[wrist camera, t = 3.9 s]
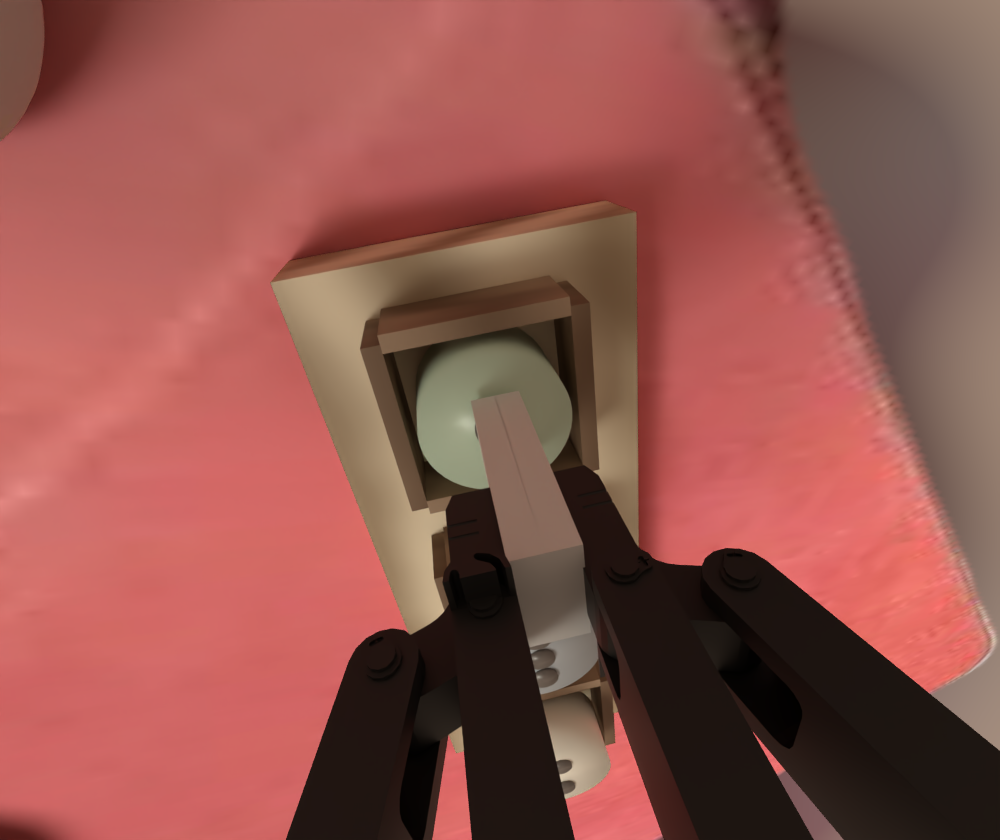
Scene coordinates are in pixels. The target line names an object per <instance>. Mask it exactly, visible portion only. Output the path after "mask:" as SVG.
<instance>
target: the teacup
mask: <svg viewBox="0 0 1000 840" xmlns="http://www.w3.org/2000/svg"><path fill="white" fill-rule="evenodd" d="M43 52H44V17H43V6H42V1H41V0H0V141H1V140H2V139H4V138H5V137H6V136H7V135H8V134H9V133H10V132H11V131H12V130H13V128H14V127H15V126H16V124H17V123H18V122H19V121H20V119H21V118H22V117H23V115H24V114H25V112H26V110H27V108H28V106H29V103H30V101H31V99H32V97H33V95H34V93H35V91H36V88H37V85H38V81H39V78H40V72H41V66H42V60H43Z"/></svg>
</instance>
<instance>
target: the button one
mask: <svg viewBox="0 0 1000 840" xmlns="http://www.w3.org/2000/svg"><path fill="white" fill-rule="evenodd" d="M514 391H519V393H520V395H521V397H522V400H523V402H524V404H525V407H526V409H527V412H528V414H529V416H530V419H531V421H532V424H533V426H534V428H535V431H536V433H537V435H538V438H539V440H540V443H541V445H542V447H543V450H544V452H545V455H546V457H547V459H548V462H549V464H551V463H552V462H553V461H554V460H555V459H556V458H557V456H558V455H559V454H560V452H561V451H562V449H563V447H564V446H565V444H566V442H567V439H568V437H569V434H570V430H571V425H572V406H571V401H570V398H569V395H568V393H567V391H566V389H565V387H564V385H563V383H562V382H561V380H560V378H559V377H558V375H557V373H556V372H555V370H554V368H553V367H552V365H551V364H550V362H549V360H548V359H547V357H546V355H545V354H544V352H543V350H542V349H541V347H540V346H539V345H538V343H537V342H536V341H535V340H534V339H533V338H532V337H531V336H530V335H529V334H527V333H526V332H525V331H523V330H521V329H519V328H518V327H514V328H509V329H504V330H499V331H494V332H489V333H484V334H479V335H474V336H470V337H465V338H460V339H455V340H450V341H445V342H440V343H435V344H432V345H431V346H430V347H429V349H428V350H427V351H426V353H425V355H424V356H423V358H422V360H421V362H420V365H419V367H418V371H417V375H416V409H417V434H418V440H419V444H420V447H421V450H422V452H423V454H424V456H425V457H426V459H427V461H428V462H429V463H430V465H431V466H432V467H433V468H434V469H435V470H436V471H437V472H438V473H440V474H441V475H442V476H444V477H445V478H447V479H449V480H450V481H452V482H454V483H457V484H459V485H462V486H466V487H470V488H476V489H484V488H489V486H488V481H487V477H486V472H485V467H484V463H483V458H482V453H481V448H480V443H479V439H478V434H477V429H476V424H475V420H474V415H473V410H472V405H471V400H476V399H481V398H486V397H490V396H495V395H500V394H505V393H509V392H514Z"/></svg>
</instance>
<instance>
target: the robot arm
mask: <svg viewBox="0 0 1000 840" xmlns="http://www.w3.org/2000/svg"><path fill="white" fill-rule="evenodd" d="M471 405H472V410H473V415H474V420H475V424H476V429H477V434H478V439H479V443H480V448H481V453H482V458H483V463H484V467H485V472H486V477H487V481H488V486H489V488H484V489H480V490H475V491H471V492H466V493H462V494H457V495H453V496H452V497H451V499H450V501H449V504H448V506H447V508H446V510H445V512H446V523H447V533H448V544H449V554H450V563H449V565H448V566H447V568H446V569H445V571H444V575H443V581H442V583H443V587H444V590H445V593H446V596H447V599H448V603H449V605H448V606H447V608H446V609H445V611H444V612H443V613H442V614H441V615H440V616H439V617H438V618H437V619H436V620H435V621H433V622H432V623H430V624H429V625H427V626H425V627H424V628H422V629H420V630H418V631H416V632H415V633H413V634H411V635H410V634H409V633H407V632H406V631H405V630H399V629H393V628H392V629H387V630H382V631H379V632H377V633H375V634H373V635H371V636H369V637H368V638H366V639H365V640H364V641H363V642H362V643H361V644H360V645H359V646H358V647H357V648H356V649H355V651H354V653H353V655H352V656H351V658H350V660H349V662H348V665H347V668H346V671H345V674H344V676H343V679H342V682H341V685H340V688H339V691H338V693H337V696H336V699H335V702H334V705H333V708H332V710H331V713H330V716H329V719H328V722H327V725H326V727H325V730H324V733H323V736H322V739H321V742H320V744H319V747H318V750H317V753H316V756H315V759H314V761H313V764H312V767H311V770H310V773H309V776H308V778H307V781H306V784H305V787H304V790H303V793H302V795H301V798H300V801H299V804H298V807H297V810H296V812H295V815H294V818H293V821H292V824H291V827H290V829H289V832H288V835H287V838H286V840H432V837H433V831H434V824H435V818H436V811H437V805H438V798H439V792H440V785H441V779H442V772H443V766H444V759H445V753H446V747H447V740H448V735H449V734H450V733H452V732H453V731H455V730H457V729H458V728H460V727H461V726H462V735H463V746H464V757H465V768H466V779H467V790H468V801H469V812H470V823H471V833H472V840H575V838H574V834H573V830H572V826H571V821H570V817H569V813H568V809H567V804H566V800H565V796H564V792H563V788H562V783H561V779H560V775H559V771H558V766H557V762H556V758H555V754H554V749H553V745H552V741H551V737H550V732H549V728H548V724H547V720H546V715H545V711H544V707H543V703H542V698H541V694H540V690H539V686H538V682H537V677H536V673H535V669H534V665H533V660H532V656H531V652H530V648H529V647H533V646H537V645H541V644H546V643H550V642H554V641H558V640H562V639H566V638H571V637H575V636H579V635H583V634H587V633H591V628H590V622H591V625H592V628H593V630H594V633H595V636H596V639H597V648H598V661H599V671H600V678H601V677H605V676H606V678H607V681H608V684H609V687H610V690H611V692H612V695H613V698H614V701H615V704H616V706H617V709H618V712H619V715H620V718H621V720H622V723H623V726H624V729H625V732H626V734H627V737H628V740H629V743H630V746H631V749H632V751H633V754H634V757H635V760H636V763H637V765H638V768H639V771H640V774H641V777H642V779H643V782H644V785H645V788H646V791H647V793H648V796H649V799H650V802H651V805H652V807H653V810H654V813H655V816H656V819H657V821H658V824H659V827H660V830H661V833H662V835H663V838H664V840H814V839H813V838H812V836H811V834H810V833H809V831H808V829H807V827H806V826H805V824H804V822H803V820H802V818H801V817H800V815H799V813H798V811H797V809H796V808H795V806H794V804H793V802H792V801H791V799H790V797H789V795H788V794H787V792H786V790H785V788H784V787H783V785H782V783H781V781H780V780H779V778H778V776H777V774H776V772H775V771H774V769H773V767H772V765H771V764H770V762H769V760H768V758H767V756H766V755H765V753H764V751H763V749H762V748H761V746H760V744H759V742H758V741H757V739H756V737H755V735H756V736H757V737H758V738H759V739H760V740H761V742H762V743H763V744H764V745H765V746H766V748H767V749H768V750H769V751H770V752H771V754H772V755H773V756H774V757H775V758H776V759H777V761H778V762H779V763H780V764H781V765H782V767H783V768H784V769H785V770H786V771H787V773H788V774H789V775H790V776H791V777H792V779H793V780H794V781H795V782H796V783H797V784H798V786H799V787H800V788H801V789H802V790H803V792H805V794H806V795H807V796H808V797H809V799H810V800H811V801H812V802H813V803H814V804H815V806H816V807H817V808H818V809H819V811H820V812H821V813H822V814H823V815H824V817H826V819H827V820H828V821H829V823H830V824H831V825H832V826H833V827H834V828H835V830H836V831H837V832H838V833H839V834H840V836H841V837H842V838H843V839H844V840H1000V751H999V750H998V749H997V748H996V747H994V746H993V745H992V744H990V743H989V742H988V741H987V740H986V739H984V738H983V737H982V736H981V735H980V734H978V733H977V732H976V731H974V730H973V729H972V728H971V727H970V726H969V725H967V724H966V723H965V722H964V721H962V720H961V719H960V718H959V717H957V716H956V715H955V714H954V713H953V712H951V711H950V710H949V709H948V708H946V707H945V706H944V705H943V704H942V703H940V702H939V701H938V700H937V699H935V698H934V697H933V696H932V695H931V694H929V693H928V692H927V691H926V690H924V689H923V688H922V687H921V686H920V685H918V684H917V683H916V682H915V681H913V680H912V679H911V678H910V677H909V676H907V675H906V674H905V673H904V672H902V671H901V670H900V669H899V668H897V667H896V666H895V665H894V664H893V663H891V662H890V661H889V660H888V659H886V658H885V657H884V656H883V655H882V654H880V653H879V652H878V651H877V650H875V649H874V648H873V647H872V646H871V645H869V644H868V643H867V642H866V641H864V640H863V639H862V638H861V637H859V636H858V635H857V634H856V633H855V632H853V631H852V630H851V629H850V628H848V627H847V626H846V625H845V624H844V623H842V622H841V621H840V620H839V619H837V618H836V617H835V616H834V615H833V614H831V613H830V612H829V611H828V610H826V609H825V608H824V607H823V606H821V605H820V604H819V603H818V602H817V601H815V600H814V599H813V598H812V597H810V596H809V595H808V594H807V593H806V592H804V591H803V590H802V589H801V588H799V587H798V586H797V585H796V584H795V583H793V582H792V581H791V580H790V579H788V578H787V577H786V576H785V575H783V574H782V573H781V572H780V571H779V570H777V569H776V568H775V567H774V566H772V565H771V564H770V563H769V562H768V561H766V560H765V559H763V558H761V557H760V556H758V555H756V554H755V553H752V552H749V551H746V550H742V549H733V548H725V549H721V550H717V551H714V552H712V553H711V554H710V555H709V556H707V557H706V558H705V560H704V562H703V565H702V566H693V565H675V564H667V563H664V562H661V561H657V560H655V559H653V558H652V557H651V555H650V554H649V553H647V552H645V551H643V550H641V549H640V548H639V547H638V545H637V544H636V543H635V541H634V539H633V537H632V535H631V533H630V532H629V530H628V528H627V526H626V524H625V523H624V521H623V519H622V517H621V515H620V513H619V512H618V510H617V508H616V506H615V504H614V503H613V502H612V499H611V497H610V495H609V493H608V491H606V488H605V486H604V484H603V482H602V480H601V479H600V477H599V475H598V474H596V473H595V472H593V471H592V470H591V469H589V468H588V467H586V466H585V465H583V466H578V467H573V468H569V469H564V470H560V471H555V472H553V471H552V469H551V467H550V464H549V462H548V459H547V457H546V455H545V452H544V450H543V447H542V445H541V443H540V440H539V438H538V435H537V433H536V431H535V428H534V426H533V424H532V421H531V419H530V416H529V414H528V412H527V409H526V407H525V404H524V402H523V400H522V397H521V395H520V393H519V391H514V392H509V393H505V394H500V395H495V396H490V397H486V398H481V399H476V400H471ZM752 731H753V732H754V733H755V735H754V734H753V732H752Z"/></svg>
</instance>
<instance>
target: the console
mask: <svg viewBox="0 0 1000 840" xmlns="http://www.w3.org/2000/svg"><path fill="white" fill-rule="evenodd" d="M270 283H271V286H272V288H273V291H274V294H275V296H276V299H277V301H278V304H279V306H280V309H281V311H282V314H283V316H284V319H285V321H286V324H287V326H288V329H289V331H290V334H291V337H292V339H293V342H294V344H295V347H296V349H297V352H298V354H299V357H300V359H301V362H302V364H303V367H304V369H305V372H306V375H307V377H308V380H309V382H310V385H311V387H312V390H313V392H314V395H315V397H316V400H317V402H318V405H319V407H320V410H321V412H322V415H323V418H324V420H325V423H326V425H327V428H328V430H329V433H330V435H331V438H332V440H333V443H334V445H335V448H336V450H337V453H338V455H339V458H340V461H341V463H342V466H343V468H344V471H345V473H346V476H347V478H348V481H349V483H350V486H351V488H352V491H353V493H354V496H355V499H356V501H357V504H358V506H359V509H360V511H361V514H362V516H363V519H364V521H365V524H366V526H367V529H368V531H369V534H370V536H371V539H372V542H373V544H374V547H375V549H376V552H377V554H378V557H379V559H380V562H381V564H382V567H383V569H384V572H385V574H386V577H387V580H388V582H389V585H390V587H391V590H392V592H393V595H394V597H395V600H396V602H397V605H398V607H399V610H400V612H401V615H402V617H403V620H404V623H405V625H406V628H407V630H408V633H409V634H410V635H411V634H413V633H415V632H416V631H418V630H420V629H422V628H424V627H425V626H427V625H429V624H430V623H432V622H433V621H435V620H436V619H437V618H438V617H439V616H440V615H441V614H442V613H443V612H444V611H445V609H446V608H447V606H448V605H449V603H448V599H447V596H446V593H445V590H444V587H443V583H442V581H443V575H444V571H445V569H446V568H447V566H448V565H449V563H450V554H449V544H448V533H447V523H446V512H445V510H446V508H447V506H448V504H449V501H450V499H451V497H452V496H453V495H457V494H462V493H466V492H471V491H475V490H480V489H476V488H470V487H466V486H462V485H459V484H457V483H454V482H452V481H450V480H449V479H447V478H445V477H444V476H442V475H441V474H440V473H438V472H437V471H436V470H435V469H434V468H433V467H432V466H431V465H430V463H429V462H428V461H427V459H426V457H425V456H424V454H423V452H422V450H421V447H420V444H419V440H418V434H417V409H416V375H417V371H418V367H419V365H420V362H421V360H422V358H423V356H424V355H425V353H426V351H427V350H428V349H429V347H430V346H431V345H432V344H435V343H440V342H445V341H450V340H455V339H460V338H465V337H470V336H474V335H479V334H484V333H489V332H494V331H499V330H504V329H509V328H514V327H518V328H519V329H521V330H523V331H525V332H526V333H527V334H529V335H530V336H531V337H532V338H533V339H534V340H535V341H536V342H537V343H538V345H539V346H540V347H541V349H542V350H543V352H544V354H545V355H546V357H547V359H548V360H549V362H550V364H551V365H552V367H553V368H554V370H555V372H556V373H557V375H558V377H559V378H560V380H561V382H562V383H563V385H564V387H565V389H566V391H567V393H568V395H569V398H570V401H571V406H572V425H571V430H570V434H569V437H568V439H567V442H566V444H565V446H564V447H563V449H562V451H561V452H560V454H559V455H558V456H557V458H556V459H555V460H554V461H553V462H552V463H551V464H550V467H551V469H552V471H553V472H555V471H560V470H564V469H569V468H573V467H578V466H583V465H585V466H586V467H588V468H589V469H591V470H592V471H593V472H595V473H596V474H598V475H599V477H600V479H601V480H602V482H603V484H604V486H605V488H606V491H608V493H609V495H610V497H611V499H612V502H613V503H614V504H615V506H616V508H617V510H618V512H619V513H620V515H621V517H622V519H623V521H624V523H625V524H626V526H627V528H628V530H629V532H630V533H631V535H632V537H633V539H634V541H635V543H636V544H637V545H638V547H639V523H638V374H637V225H636V212H635V211H633V210H630V209H627V208H625V207H622V206H619V205H616V204H614V203H611V202H608V201H606V200H605V201H600V202H594V203H589V204H584V205H579V206H574V207H568V208H563V209H558V210H553V211H547V212H542V213H537V214H532V215H526V216H521V217H516V218H511V219H506V220H500V221H495V222H490V223H485V224H479V225H474V226H469V227H464V228H458V229H453V230H448V231H443V232H437V233H432V234H427V235H422V236H417V237H411V238H406V239H401V240H396V241H390V242H385V243H380V244H375V245H369V246H364V247H359V248H354V249H349V250H343V251H338V252H333V253H328V254H322V255H317V256H312V257H307V258H301V259H296V260H291V261H289V262H288V263H287V264H286V265H285V266H284V267H283V269H282V270H281V271H280V272H279V273H278V274H277V275H276V277H275V278H274V279H273V280H272V281H271V282H270ZM578 691H580V692H582V693H584V694H585V695H586V696H588V698H589V699H590V701H591V703H592V706H593V709H594V713H595V716H596V719H597V722H598V725H599V728H600V731H601V734H602V737H603V741H604V744H605V745H609V744H613V743H615V729H614V713H616V712H618V709H617V706H616V704H615V701H614V698H613V695H612V692H611V690H610V687H609V684H608V681H607V678H606V676H605V677H601V678H600V671H599V661H598V660H597V662H596V663H595V665H594V666H593V667H592V668H591V669H590V670H589V671H588V672H587V673H586V674H585V675H584V676H583V677H581V678H580V679H578V680H577V681H575V682H573V683H572V684H570V685H568V686H566V687H564V688H561V689H558V690H556V691H553V692H549V693H545V694H541V698H542V700H546V699H550V698H554V697H558V696H562V695H566V694H570V693H574V692H578ZM449 736H450V739H451V741H452V744H453V747H454V749H455V752H456V753H459V752H463V751H464V746H463V735H462V726H461V727H460V728H458V729H457V730H455V731H453V732H452V733H450V734H449Z"/></svg>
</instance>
